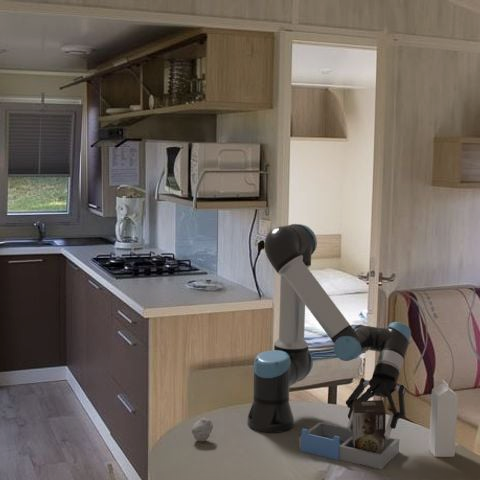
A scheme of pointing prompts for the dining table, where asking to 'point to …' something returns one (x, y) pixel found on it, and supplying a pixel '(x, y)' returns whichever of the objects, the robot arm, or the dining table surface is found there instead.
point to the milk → (443, 421)
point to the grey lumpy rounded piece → (202, 429)
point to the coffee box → (369, 426)
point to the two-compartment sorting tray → (344, 446)
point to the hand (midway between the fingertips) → (367, 433)
